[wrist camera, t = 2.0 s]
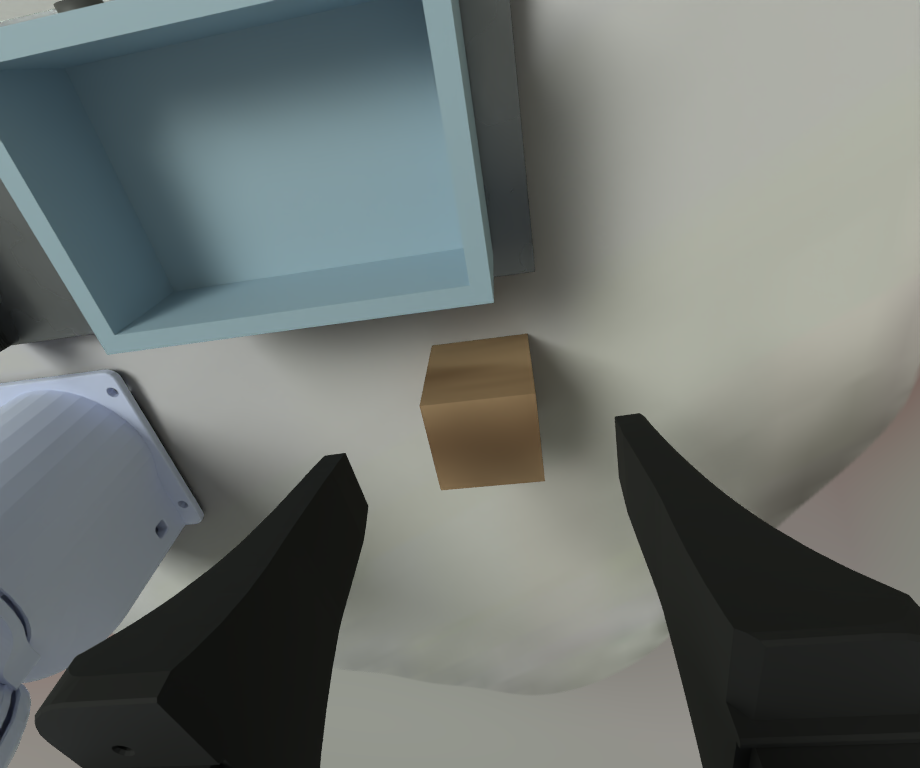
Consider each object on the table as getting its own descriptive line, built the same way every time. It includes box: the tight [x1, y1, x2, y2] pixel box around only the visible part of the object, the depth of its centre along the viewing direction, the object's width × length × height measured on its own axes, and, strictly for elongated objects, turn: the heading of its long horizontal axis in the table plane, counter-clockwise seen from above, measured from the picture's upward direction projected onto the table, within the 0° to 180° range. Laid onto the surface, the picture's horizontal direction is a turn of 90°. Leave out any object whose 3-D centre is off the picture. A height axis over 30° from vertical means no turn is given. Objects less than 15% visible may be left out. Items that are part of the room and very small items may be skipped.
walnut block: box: [420, 334, 545, 490], centre depth 20 cm, size 4×4×4 cm
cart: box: [0, 0, 494, 355], centre depth 15 cm, size 10×12×4 cm
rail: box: [0, 0, 535, 352], centre depth 17 cm, size 10×22×3 cm, turn 100°
